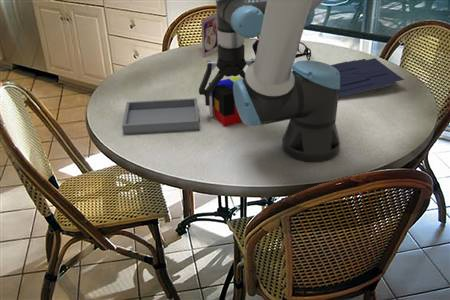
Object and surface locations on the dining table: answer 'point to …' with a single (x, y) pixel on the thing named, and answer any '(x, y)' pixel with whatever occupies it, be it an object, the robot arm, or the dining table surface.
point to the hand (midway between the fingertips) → (231, 113)
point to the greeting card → (209, 34)
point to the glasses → (304, 52)
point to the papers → (364, 76)
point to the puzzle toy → (225, 103)
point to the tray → (161, 116)
